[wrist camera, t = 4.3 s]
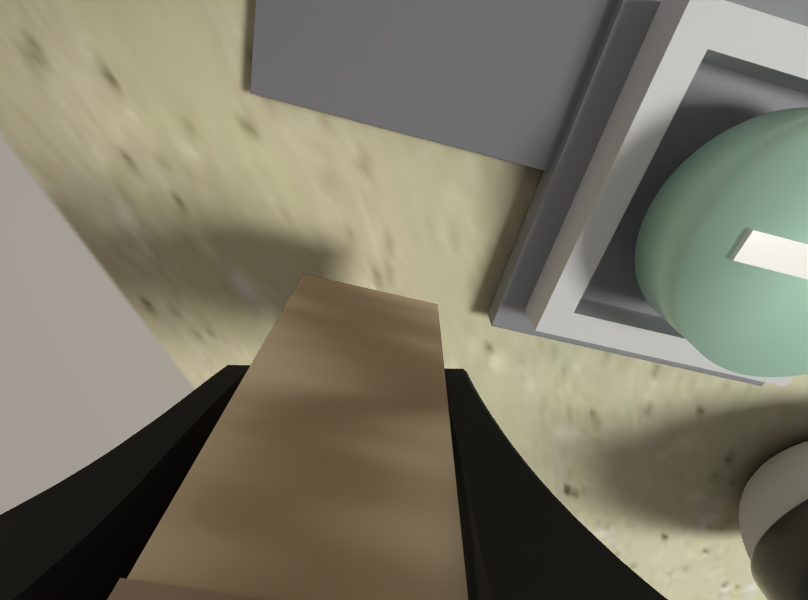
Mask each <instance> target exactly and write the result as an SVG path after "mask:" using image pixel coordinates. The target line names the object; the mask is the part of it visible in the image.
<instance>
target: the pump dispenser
mask: <svg viewBox="0 0 808 600" xmlns="http://www.w3.org/2000/svg"><path fill="white" fill-rule="evenodd" d="M739 525H740V531H741V536H742V539H743V543H744V545H745V548H746V551H747V553H748V556H749V558H750V560H751V572H752V576H753V578H754V580H755V582H756V584H757V585H758V587H759V588H760V590H761V591H762V593H763V594H764V596H765V597H766V599H767V600H808V441H806V442H803V443H800V444H797V445H794V446H792V447H790V448H788V449H786V450H784V451H782V452H780V453H778V454H777V455H775V456H773V457H772V458H771V459H769V460H768V461H767V462H765V463H764V464H763V465H762V466H761V467H760V468H759V469H758V470H757V471H756V472H755V473H754V474H753V475H752V477H751V478H750V480H749V481H748V483H747V484H746V486H745V488H744V491H743V493H742V496H741V500H740V505H739Z"/></svg>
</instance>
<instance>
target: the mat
mask: <svg viewBox="0 0 808 600" xmlns="http://www.w3.org/2000/svg"><path fill="white" fill-rule="evenodd" d="M617 2H618V0H256V5H255V22H254V39H253V56H252V72H251V89H250V93H252V94H256V95H260V96H264V97H267V98H271V99H275V100H279V101H283V102H286V103H290V104H294V105H298V106H301V107H305V108H309V109H313V110H317V111H320V112H324V113H328V114H332V115H335V116H339V117H343V118H347V119H351V120H354V121H358V122H362V123H366V124H370V125H373V126H377V127H381V128H385V129H388V130H392V131H396V132H400V133H404V134H407V135H411V136H415V137H419V138H422V139H426V140H430V141H434V142H438V143H441V144H445V145H449V146H453V147H456V148H460V149H464V150H468V151H472V152H475V153H479V154H483V155H487V156H491V157H494V158H498V159H502V160H506V161H509V162H513V163H517V164H521V165H525V166H528V167H532V168H536V169H540V170H543V171H547V172H550V169H551V167H552V164H553V162H554V159H555V157H556V154H557V152H558V149H559V147H560V144H561V142H562V139H563V137H564V134H565V132H566V129H567V127H568V124H569V122H570V119H571V117H572V114H573V112H574V109H575V107H576V104H577V102H578V99H579V97H580V94H581V92H582V89H583V87H584V84H585V82H586V79H587V77H588V74H589V72H590V69H591V67H592V64H593V62H594V59H595V57H596V55H597V52H598V50H599V47H600V45H601V42H602V40H603V37H604V35H605V32H606V30H607V27H608V25H609V22H610V20H611V17H612V15H613V12H614V10H615V7H616V5H617Z"/></svg>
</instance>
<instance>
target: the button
mask: <svg viewBox="0 0 808 600" xmlns="http://www.w3.org/2000/svg"><path fill="white" fill-rule="evenodd" d="M635 272H636V277H637V281H638V284H639V287H640V290H641V292H642V294H643V296H644V298H645V299H646V300H647V302H648V303H649V304H650V306H651V307H652V308H653V309H654V310H655V311H656V312H657V313H658V314H659V315H661V316H662V317H663V318H664V319H665V320H666V321H667V322H668V323H669V324H670V325H671V326H672V327H673V328H674V329H675V330H677V331H678V332H679V333H680V334H681V335H682V336H683V337H684V338H685V339H686V340H687V341H688V342H689V343H690V344H691V345H693V346H694V347H695V348H696V349H697V350H698V351H699V352H700V353H701V354H702V355H703V356H704V357H705V358H707V359H708V360H710V361H711V362H713V363H714V364H716V365H718V366H720V367H722V368H724V369H726V370H729V371H732V372H736V373H739V374H743V375H749V376H755V377H789V376H796V375H802V374H808V107H802V108H791V109H784V110H779V111H774V112H770V113H766V114H763V115H760V116H757V117H754V118H751V119H749V120H746V121H744V122H742V123H740V124H738V125H736V126H734V127H731V128H730V129H728V130H726V131H724V132H723V133H721V134H719V135H718V136H716V137H714V138H713V139H711V140H710V141H709V142H707V143H706V144H705V145H703V146H702V147H700V148H699V149H698V150H696V151H695V152H694V153H693V154H692V155H691V156H690V157H689V158H687V159H686V160H685V161H684V162H683V163H682V164H681V165H680V166H679V167H678V168H677V169H676V170H675V171H674V173H673V174H672V175H671V176H670V177H669V178H668V179H667V181H666V182H665V183H664V185H663V186H662V187H661V189H660V190H659V191H658V193H657V195H656V196H655V198H654V199H653V201H652V203H651V204H650V206H649V208H648V210H647V212H646V215H645V217H644V219H643V221H642V224H641V227H640V230H639V233H638V237H637V242H636V248H635Z"/></svg>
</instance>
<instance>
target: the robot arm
mask: <svg viewBox="0 0 808 600" xmlns="http://www.w3.org/2000/svg"><path fill="white" fill-rule="evenodd" d="M249 367H250V365H228V366H226V367H225V368H223V369H222V370H220V371H219V372H218V373H216V374H215V375H214V376H212V377H211V378H210V379H208V380H207V381H206V382H204V383H203V384H202V385H201V386H199V387H198V388H197V389H195V390H194V391H193V392H192V393H190V394H189V395H188V396H186V397H185V398H184V399H182V400H181V401H180V402H179V403H177V404H176V405H174V406H173V407H172V408H170V409H169V410H168V411H167V412H165V413H164V414H163V415H161V416H160V417H158V418H157V419H156V420H154V421H153V422H151V423H150V424H149V425H147V426H146V427H144V428H143V429H142V430H140V431H139V432H137V433H136V434H134V435H133V436H131V437H130V438H129V439H127V440H126V441H124V442H123V443H122V444H120V445H119V446H117V447H116V448H114V449H113V450H111V451H110V452H108V453H107V454H105V455H104V456H102V457H100V458H99V459H97V460H96V461H94V462H93V463H91V464H90V465H88V466H86V467H85V468H83V469H81V470H80V471H78V472H76V473H75V474H73V475H71V476H70V477H68V478H66V479H65V480H63V481H61V482H60V483H58V484H56V485H54V486H53V487H51V488H49V489H47V490H46V491H44V492H42V493H40V494H38V495H37V496H35V497H33V498H31V499H29V500H27V501H25V502H23V503H22V504H20V505H18V506H16V507H14V508H12V509H11V510H9V511H7V512H5V513H3V514H1V515H0V600H107V599H108V598H109V596H110V594H111V592H112V591H113V589H114V587H115V586H116V584H117V582H118V581H119V579H120V578H124V579H127V577H128V575H129V574H130V572H131V570H132V569H133V567H134V565H135V563H136V562H137V560H138V558H139V556H140V555H141V553H142V551H143V550H144V548H145V546H146V544H147V543H148V541H149V539H150V538H151V536H152V534H153V532H154V531H155V529H156V527H157V525H158V524H159V522H160V520H161V519H162V517H163V515H164V513H165V512H166V510H167V508H168V507H169V505H170V503H171V501H172V500H173V498H174V496H175V494H176V493H177V491H178V489H179V488H180V486H181V484H182V482H183V481H184V479H185V477H186V476H187V474H188V472H189V470H190V469H191V467H192V465H193V463H194V462H195V460H196V458H197V457H198V455H199V453H200V451H201V450H202V448H203V446H204V445H205V443H206V441H207V439H208V438H209V436H210V434H211V432H212V431H213V429H214V427H215V426H216V424H217V422H218V420H219V419H220V417H221V415H222V414H223V412H224V410H225V408H226V407H227V405H228V403H229V401H230V400H231V398H232V396H233V395H234V393H235V391H236V389H237V388H238V386H239V384H240V383H241V381H242V379H243V377H244V376H245V374H246V372H247V370H248V369H249ZM444 371H445V380H446V390H447V399H448V409H449V419H450V428H451V438H452V448H453V457H454V467H455V477H456V486H457V496H458V506H459V515H460V525H461V534H462V544H463V554H464V563H465V573H466V583H467V592H468V600H668V599H666V598H665V597H664V596H662V595H661V594H660V593H659V592H657V591H656V590H655V589H654V588H652V587H651V586H650V585H649V584H648V583H646V582H645V581H644V580H643V579H642V578H641V577H639V576H638V575H637V574H636V573H635V572H634V571H632V570H631V569H630V568H629V567H628V566H627V565H625V564H624V563H623V562H622V561H621V560H620V559H619V558H618V557H616V556H615V555H614V554H613V553H612V552H611V551H610V550H609V549H608V548H607V547H606V546H605V545H604V544H603V543H602V542H601V541H600V540H598V539H597V538H596V537H595V536H594V535H593V534H592V533H591V532H590V531H589V530H588V529H587V528H586V527H585V526H584V525H583V524H581V523H580V522H579V521H578V520H577V519H576V518H575V517H574V516H573V515H572V514H571V513H570V512H569V510H568V509H567V508H566V507H565V506H564V505H563V504H562V503H561V502H560V501H559V500H558V499H557V498H556V497H555V496H554V495H553V494H552V492H551V491H550V490H549V489H548V488H547V487H546V486H545V485H544V483H543V482H542V481H541V480H540V479H539V478H538V477H537V475H536V474H535V473H534V472H533V471H532V470H531V468H530V467H529V466H528V465H527V463H526V462H525V461H524V460H523V458H522V457H521V456H520V454H519V453H518V452H517V451H516V449H515V448H514V447H513V445H512V444H511V443H510V441H509V440H508V439H507V437H506V436H505V434H504V433H503V432H502V430H501V429H500V427H499V426H498V424H497V423H496V421H495V420H494V418H493V417H492V415H491V414H490V412H489V411H488V409H487V408H486V406H485V405H484V403H483V401H482V400H481V398H480V396H479V395H478V393H477V391H476V389H475V387H474V386H473V384H472V382H471V380H470V378H469V376H468V374H467V372H466V371H465V370H464V369H444Z"/></svg>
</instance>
